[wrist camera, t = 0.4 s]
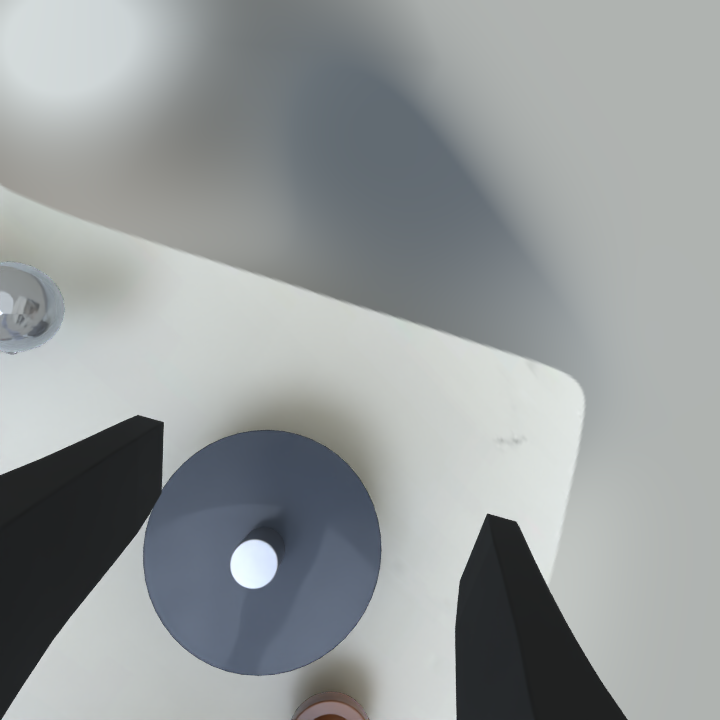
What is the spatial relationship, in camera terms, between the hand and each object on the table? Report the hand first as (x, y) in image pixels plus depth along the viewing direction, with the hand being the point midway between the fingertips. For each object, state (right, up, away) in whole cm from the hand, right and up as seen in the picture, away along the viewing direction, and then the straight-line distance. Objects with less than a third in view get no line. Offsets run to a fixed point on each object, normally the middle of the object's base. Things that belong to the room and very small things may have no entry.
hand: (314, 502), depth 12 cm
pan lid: (-4, -8, +19) cm, 21 cm away
